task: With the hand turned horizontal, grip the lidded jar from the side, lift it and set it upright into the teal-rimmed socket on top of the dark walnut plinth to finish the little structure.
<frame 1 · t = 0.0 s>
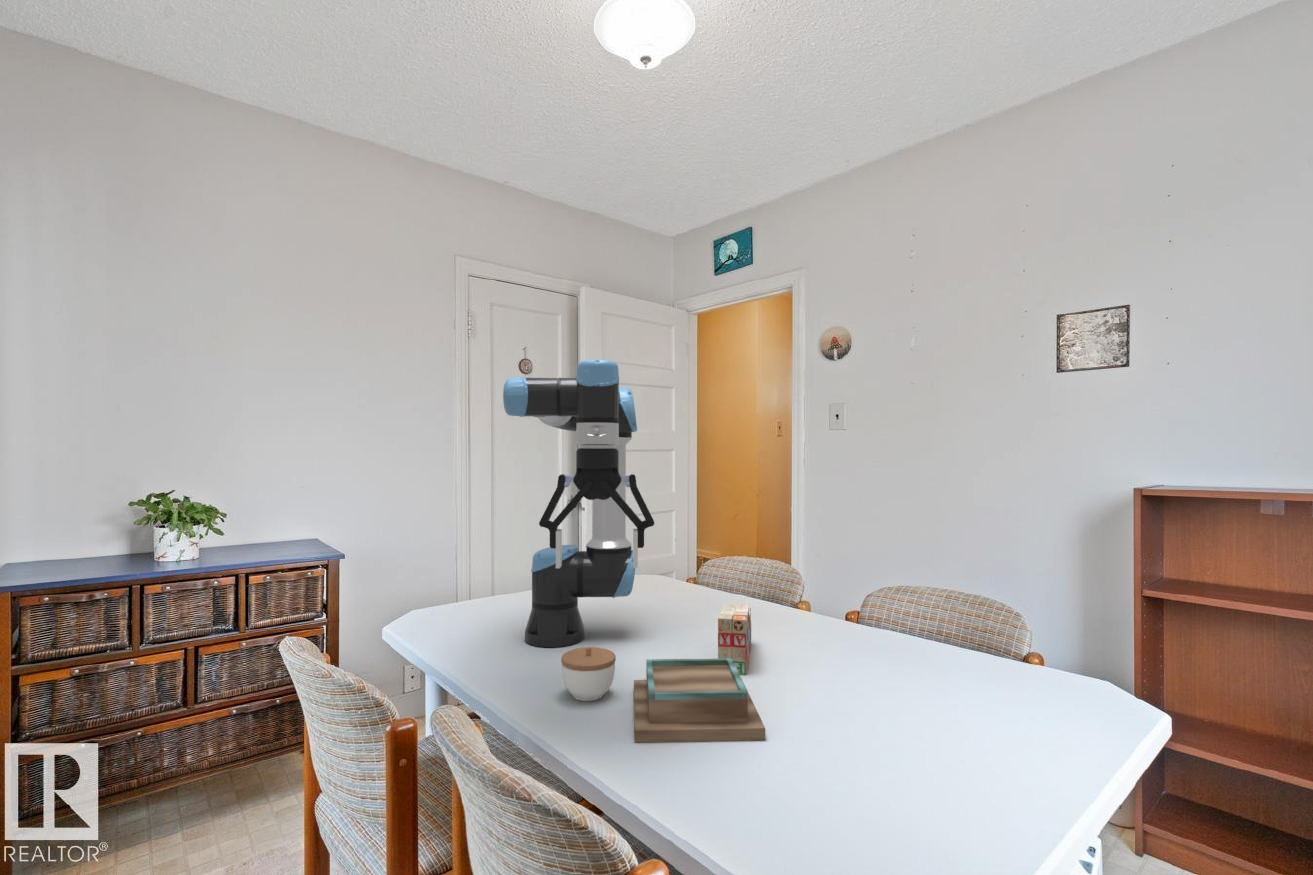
hand: (597, 566, 109), 28 cm above the table, tool pointing down, fingers open, 13 cm apart
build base: (693, 712, 114), on the table
lidded jar: (588, 695, 122), on the table
stack of blocks: (735, 659, 143), on the table
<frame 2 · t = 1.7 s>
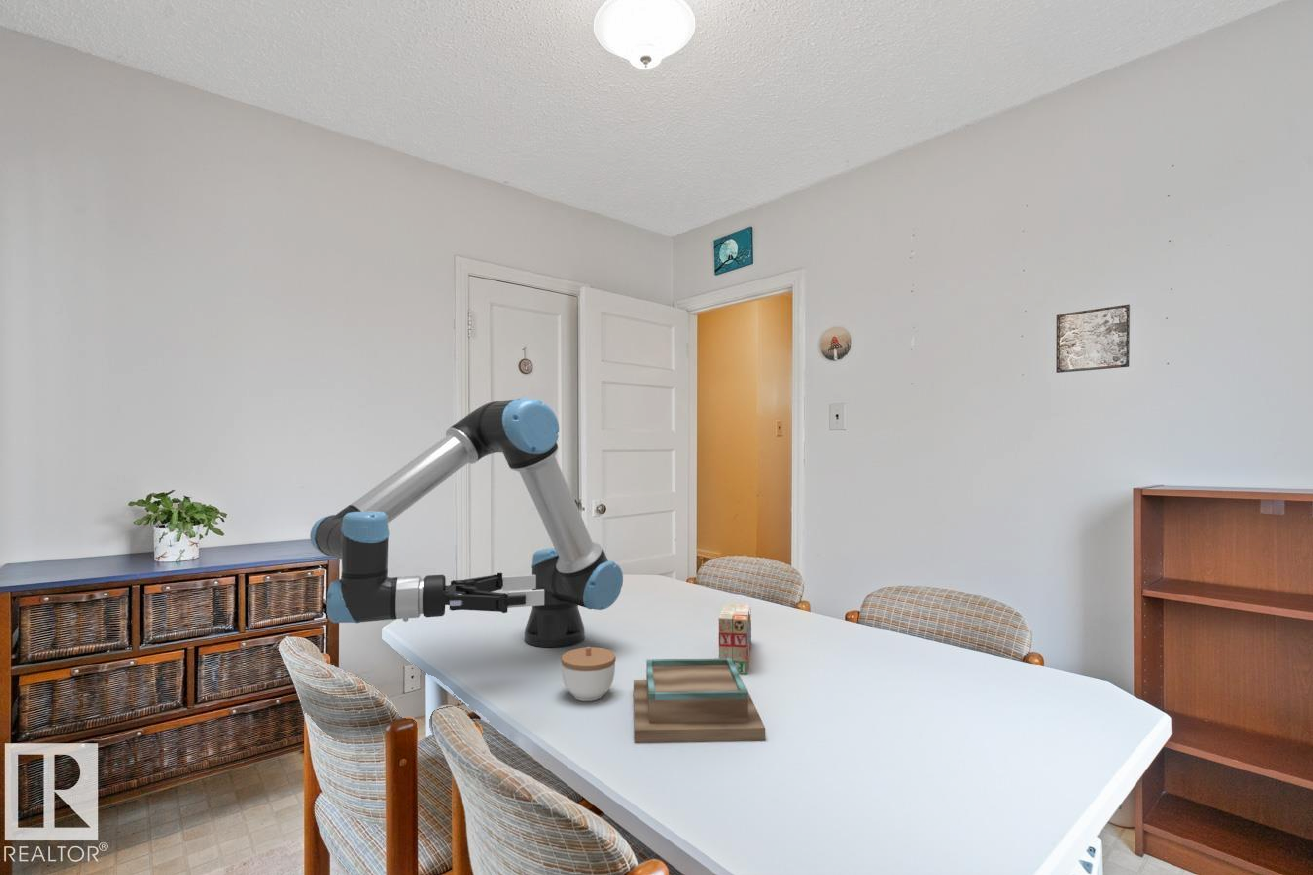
hand: (539, 588, 119), 22 cm above the table, tool horizontal, fingers open, 13 cm apart
nothing on the table moved.
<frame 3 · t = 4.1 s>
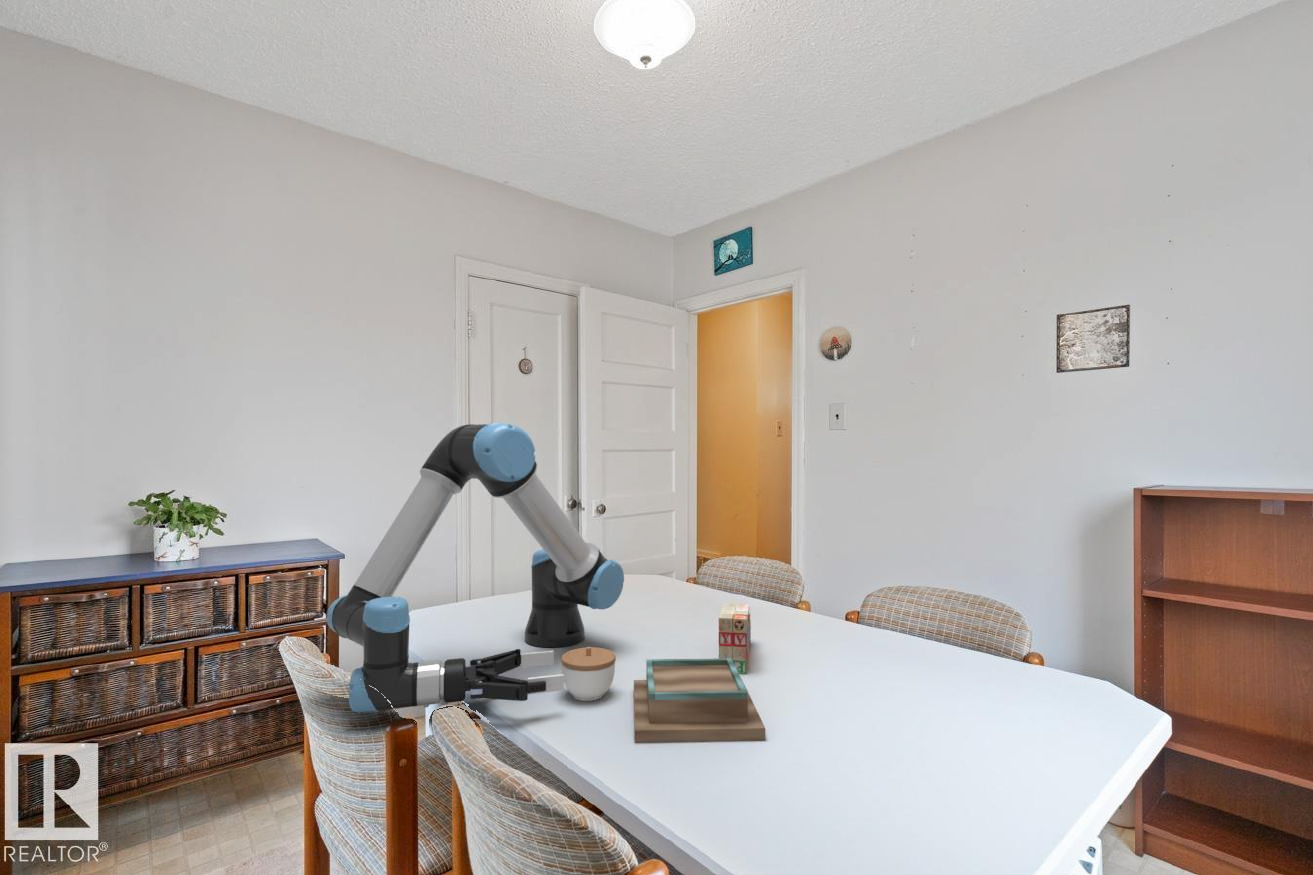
hand: (558, 669, 120), 6 cm above the table, tool horizontal, fingers open, 13 cm apart
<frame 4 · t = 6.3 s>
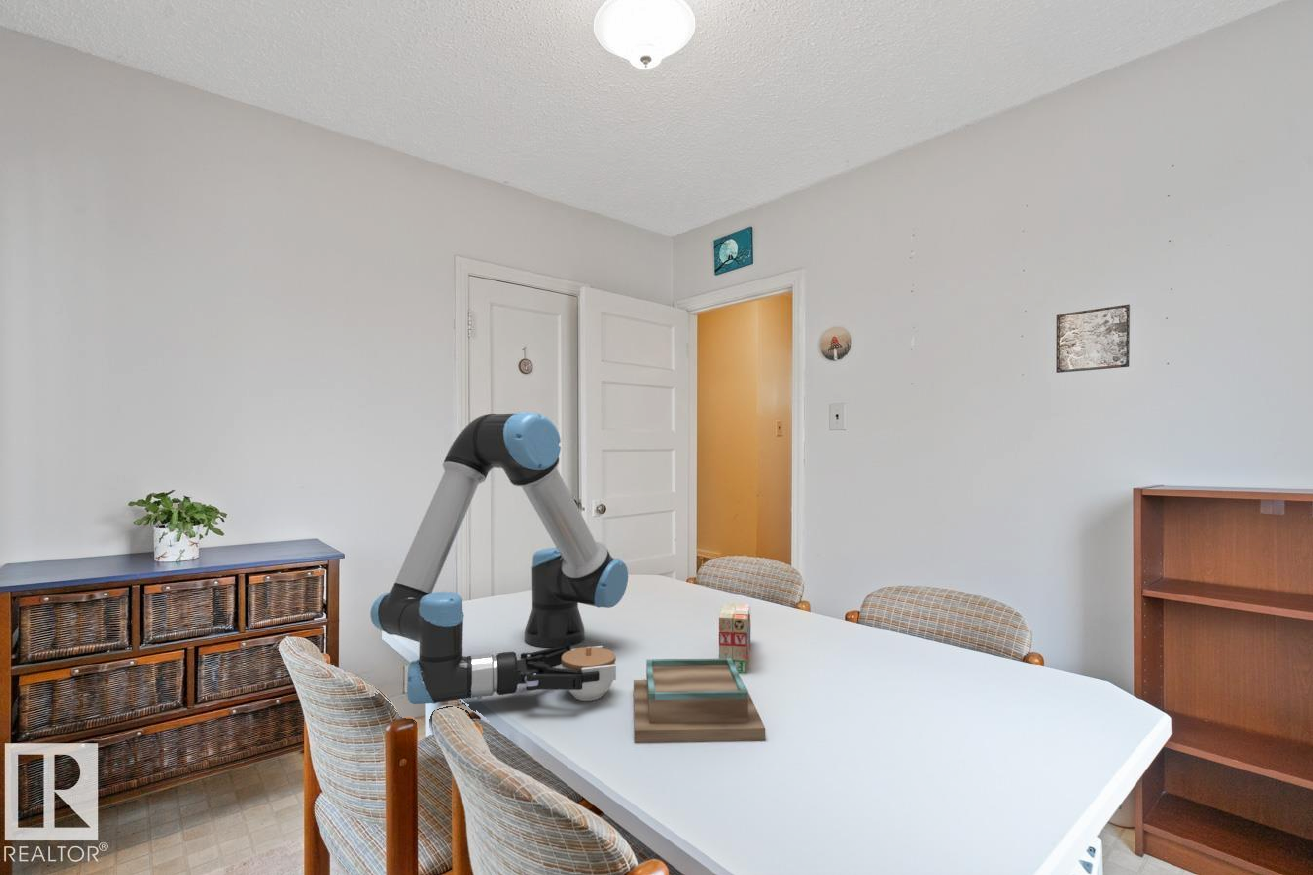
hand: (608, 661, 123), 6 cm above the table, tool horizontal, fingers closed on lidded jar, 11 cm apart
lidded jar: (588, 695, 122), on the table, touching gripper
everything else where it was.
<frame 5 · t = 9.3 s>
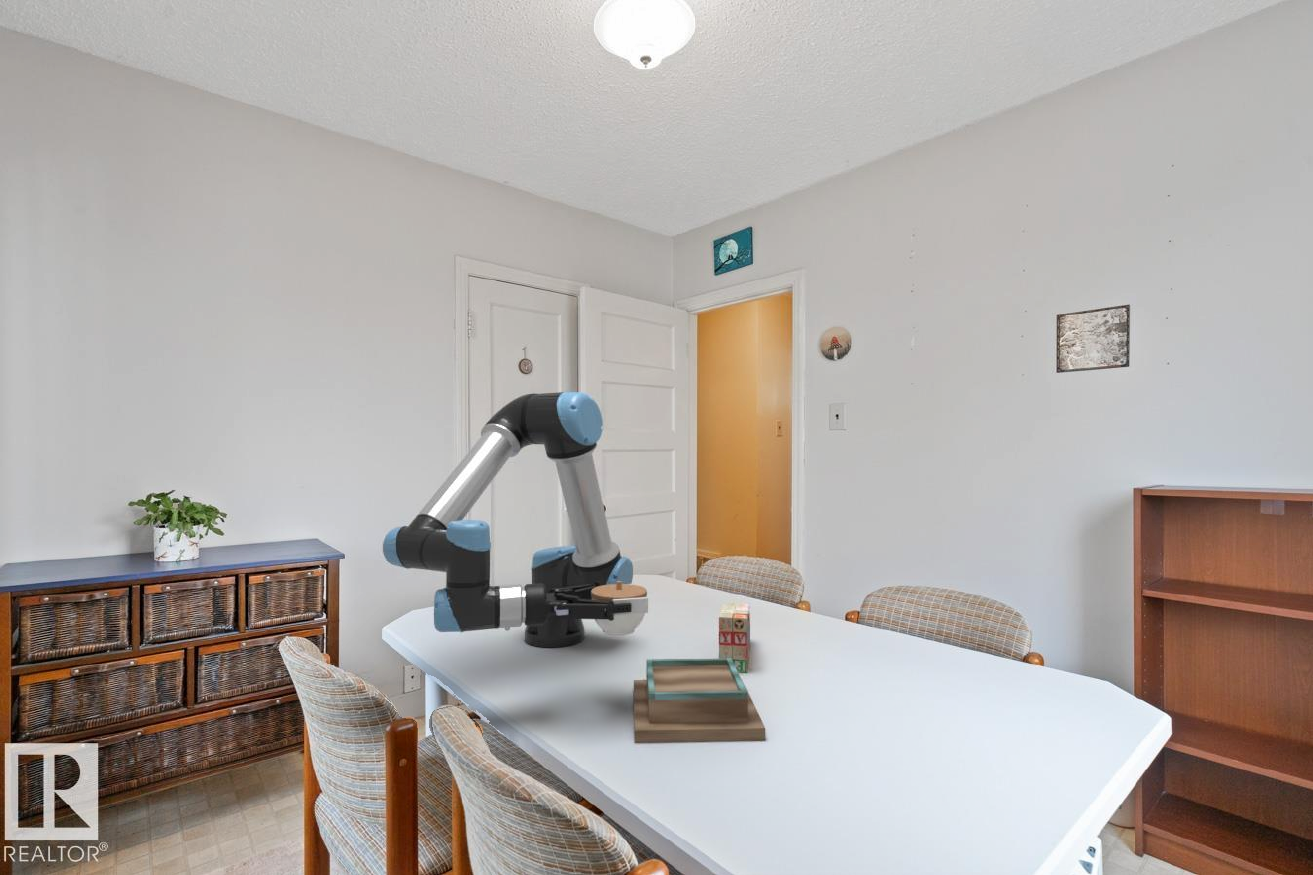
hand: (639, 597, 119), 20 cm above the table, tool horizontal, fingers closed on lidded jar, 11 cm apart
lidded jar: (618, 631, 118), point 14 cm above the table, touching gripper
when the fingers open (13 cm above the table, at t = 12.4 s): lidded jar drops 1 cm, resting on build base.
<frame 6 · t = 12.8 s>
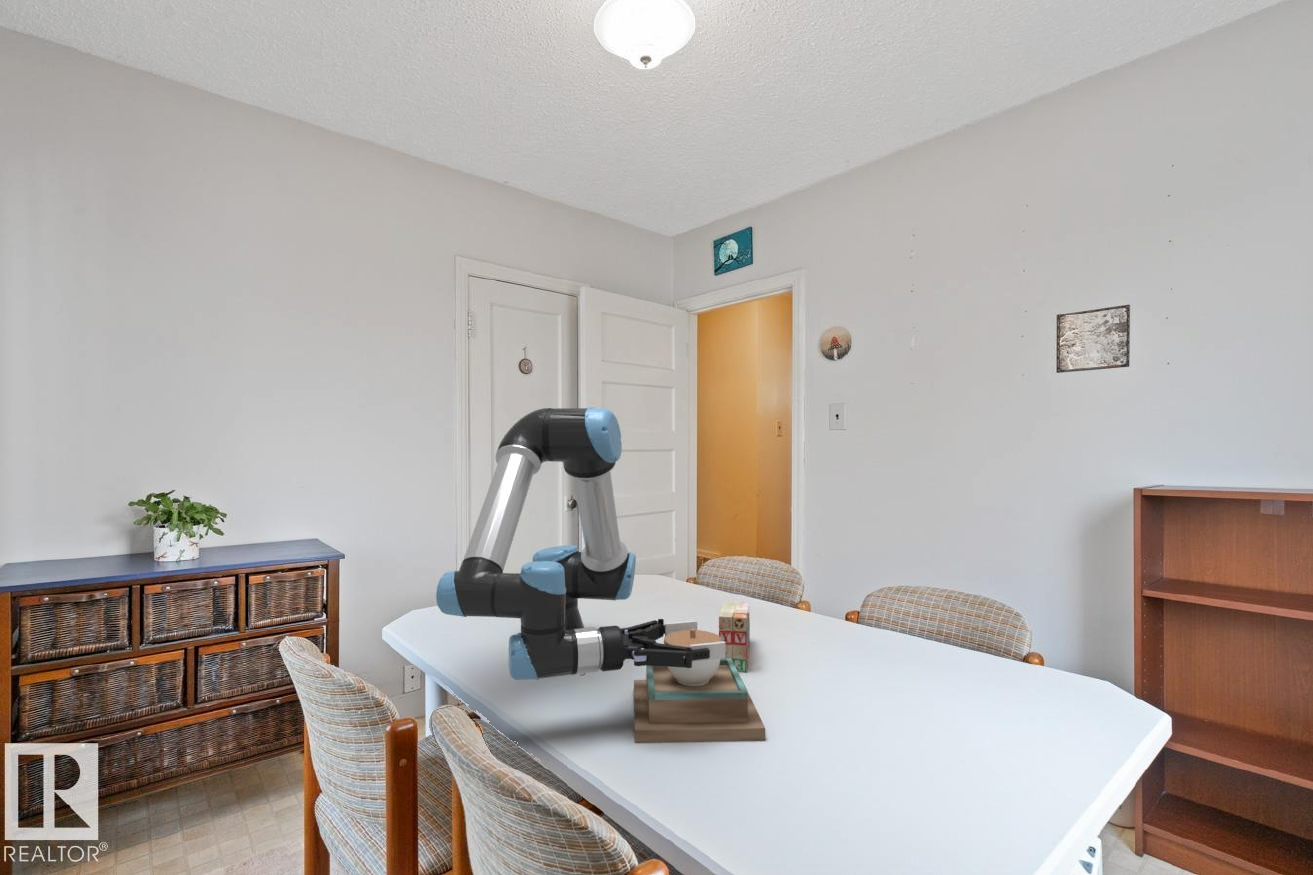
hand: (710, 638, 115), 13 cm above the table, tool horizontal, fingers open, 13 cm apart
lidded jar: (692, 681, 114), point 6 cm above the table, touching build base
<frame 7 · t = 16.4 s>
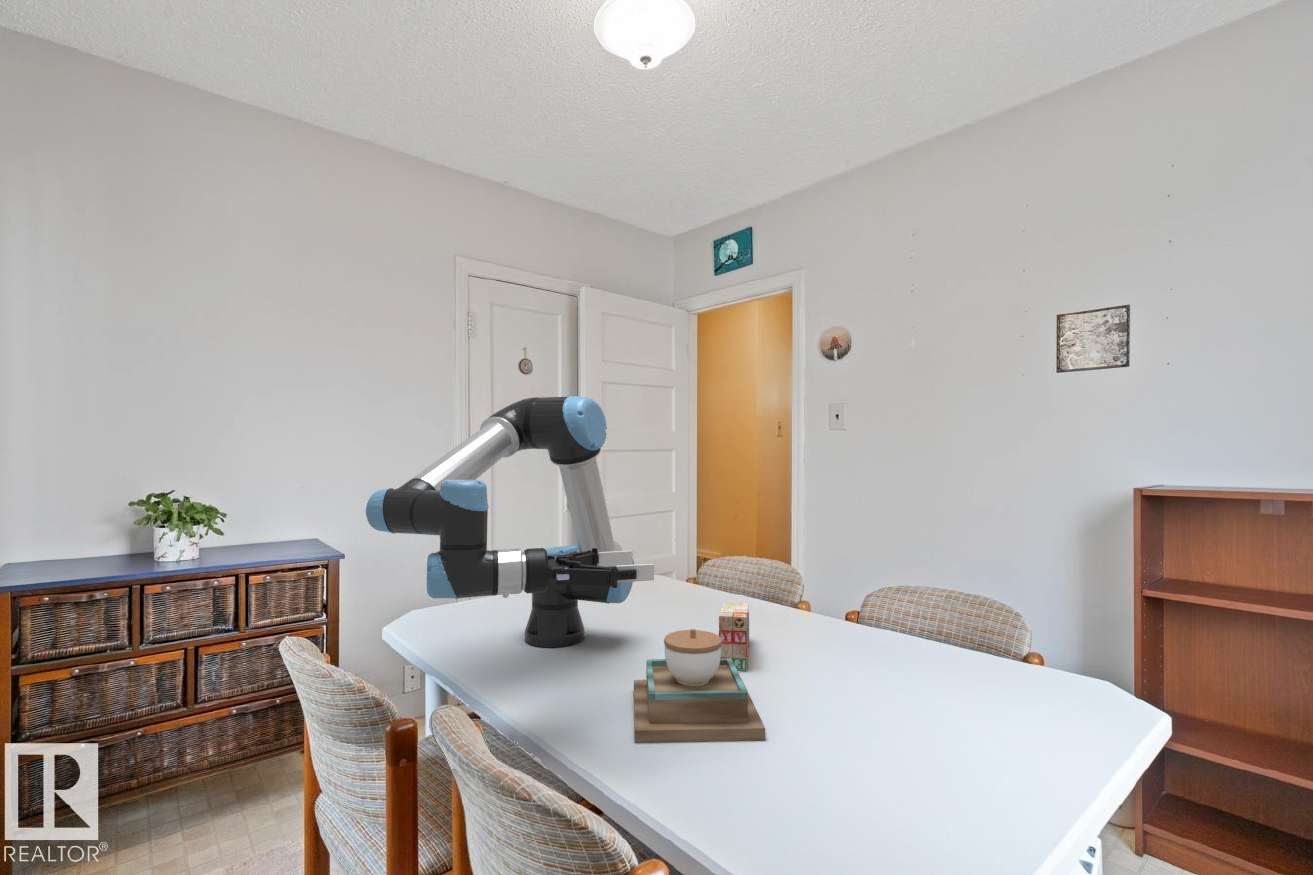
hand: (642, 564, 111), 28 cm above the table, tool horizontal, fingers open, 13 cm apart
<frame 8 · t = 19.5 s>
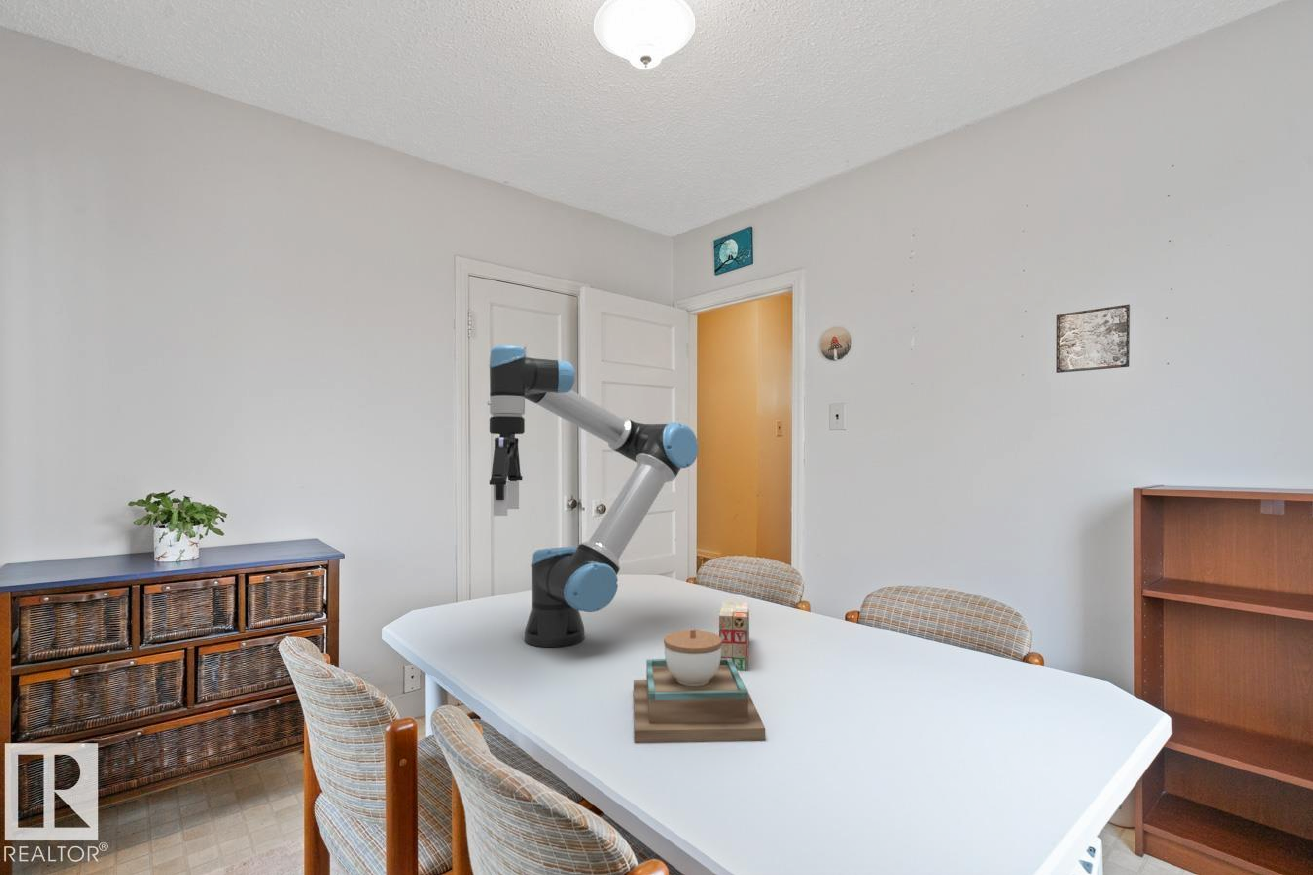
hand: (506, 512, 136), 35 cm above the table, tool pointing down, fingers open, 13 cm apart
at the end: lidded jar inside the target area on the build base (0.1 cm from its centre), point 5.8 cm above the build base's base; lidded jar tilted 0°; the gripper is holding nothing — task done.
